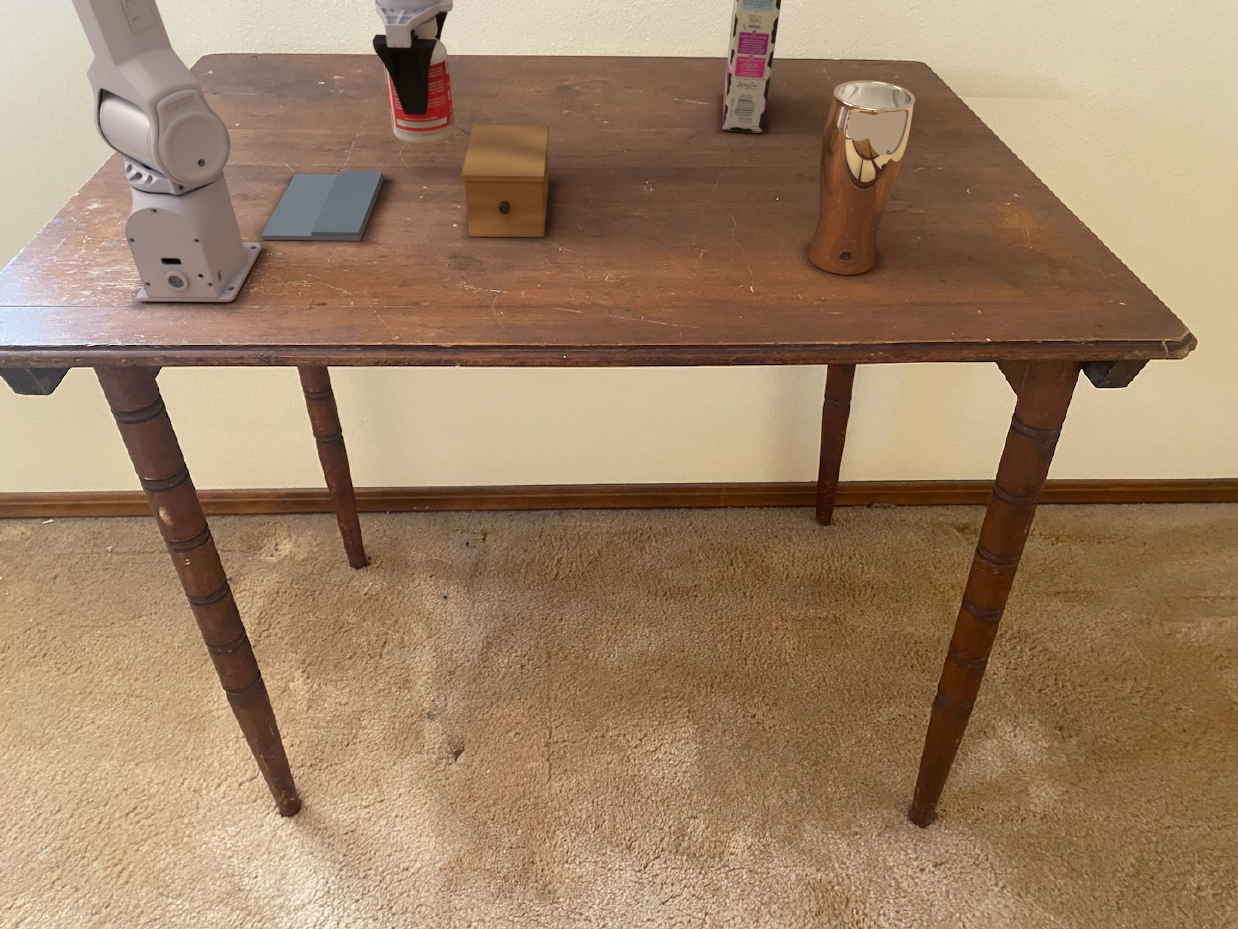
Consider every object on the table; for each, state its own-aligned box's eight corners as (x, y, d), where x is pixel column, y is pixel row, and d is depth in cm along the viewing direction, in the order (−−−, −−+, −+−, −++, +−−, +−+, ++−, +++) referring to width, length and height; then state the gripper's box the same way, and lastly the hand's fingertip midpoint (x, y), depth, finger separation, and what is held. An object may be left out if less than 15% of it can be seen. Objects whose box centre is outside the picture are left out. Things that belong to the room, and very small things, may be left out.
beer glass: (788, 258, 86) (814, 93, 76) (830, 232, 89) (860, 72, 79) (853, 286, 82) (889, 117, 72) (893, 258, 86) (933, 94, 76)
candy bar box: (765, 134, 107) (785, -22, 96) (721, 132, 107) (737, -25, 96) (763, 98, 115) (781, -50, 104) (722, 96, 115) (737, -52, 104)
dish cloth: (360, 240, 86) (358, 232, 86) (262, 240, 86) (260, 231, 86) (383, 179, 96) (382, 170, 95) (295, 178, 96) (294, 169, 95)
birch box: (545, 241, 87) (543, 178, 83) (466, 240, 87) (460, 177, 83) (550, 184, 96) (548, 125, 92) (478, 183, 96) (473, 124, 92)
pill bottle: (465, 138, 94) (455, 21, 86) (408, 151, 91) (393, 32, 84) (438, 117, 98) (426, 4, 90) (383, 129, 95) (366, 13, 88)
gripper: (437, -31, 78) (452, 129, 87) (456, -72, 89) (468, 74, 98) (351, -32, 78) (376, 128, 87) (381, -73, 88) (400, 73, 97)
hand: (420, 100), depth 92 cm, fingers closed on pill bottle, 6 cm apart
